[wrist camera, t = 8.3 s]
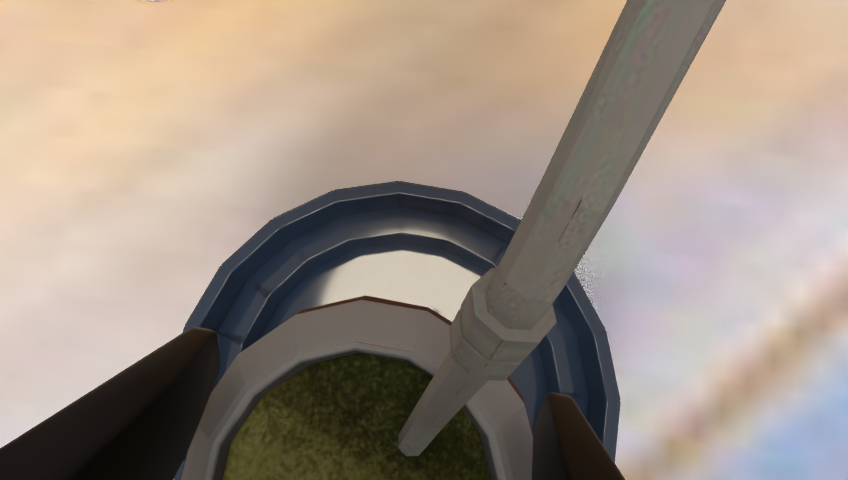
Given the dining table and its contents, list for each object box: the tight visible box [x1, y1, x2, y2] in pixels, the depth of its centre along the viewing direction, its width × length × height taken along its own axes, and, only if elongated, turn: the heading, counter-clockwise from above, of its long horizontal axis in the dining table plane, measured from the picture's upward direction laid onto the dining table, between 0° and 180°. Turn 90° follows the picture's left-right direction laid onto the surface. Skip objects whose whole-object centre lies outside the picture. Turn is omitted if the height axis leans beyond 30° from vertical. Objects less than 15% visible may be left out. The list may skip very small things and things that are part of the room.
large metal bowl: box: [174, 181, 620, 480], centre depth 21 cm, size 15×15×4 cm
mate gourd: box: [181, 0, 726, 480], centre depth 9 cm, size 8×8×15 cm
